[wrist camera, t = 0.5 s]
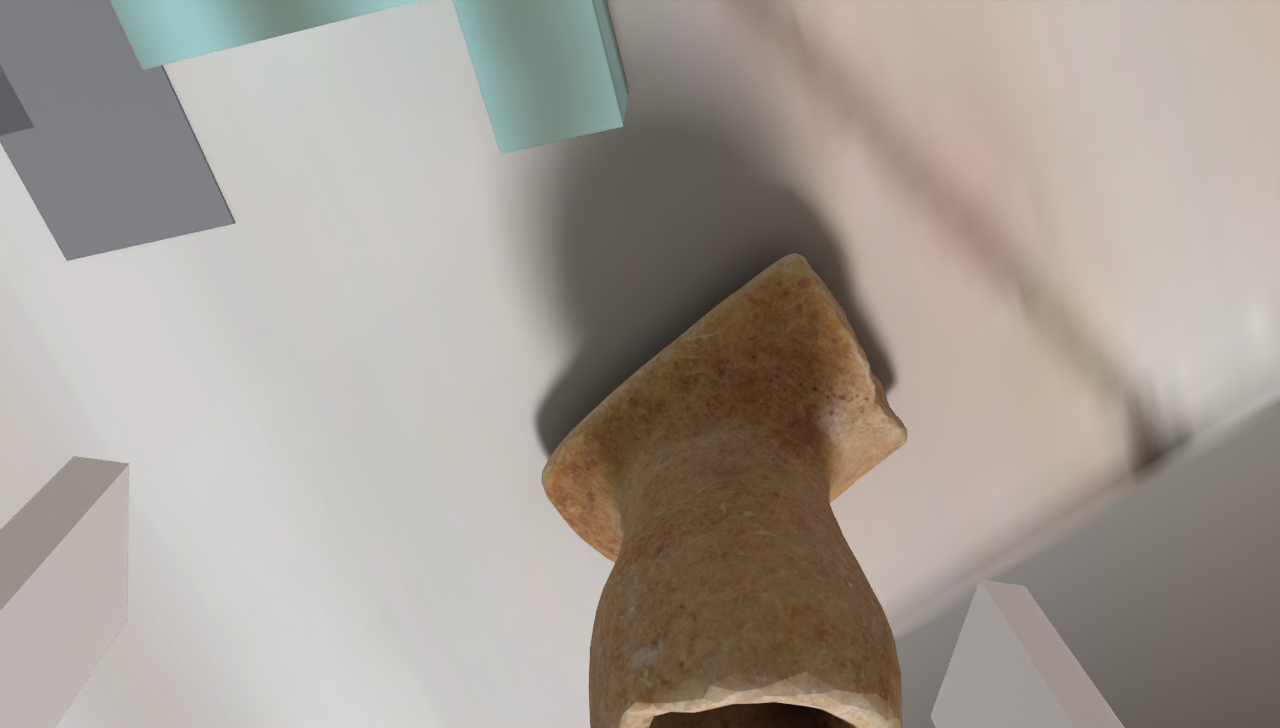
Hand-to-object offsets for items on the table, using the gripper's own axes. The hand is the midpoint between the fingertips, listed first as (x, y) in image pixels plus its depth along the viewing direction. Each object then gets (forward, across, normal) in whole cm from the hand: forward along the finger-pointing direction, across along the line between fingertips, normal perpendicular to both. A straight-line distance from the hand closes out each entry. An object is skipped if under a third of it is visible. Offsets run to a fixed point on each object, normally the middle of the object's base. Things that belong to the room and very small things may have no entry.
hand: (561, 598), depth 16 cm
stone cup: (+25, +8, -8) cm, 27 cm away
